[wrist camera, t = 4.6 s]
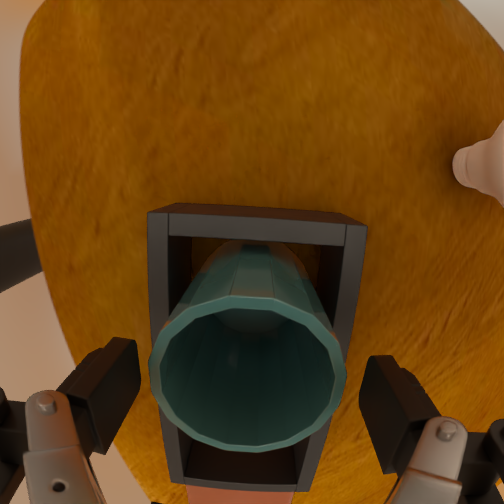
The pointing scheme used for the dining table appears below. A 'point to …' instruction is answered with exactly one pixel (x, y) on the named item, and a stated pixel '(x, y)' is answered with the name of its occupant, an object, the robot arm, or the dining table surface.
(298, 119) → the dining table surface
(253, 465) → the divided storage box
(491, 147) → the lightbulb
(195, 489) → the coaster
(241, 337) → the cup
